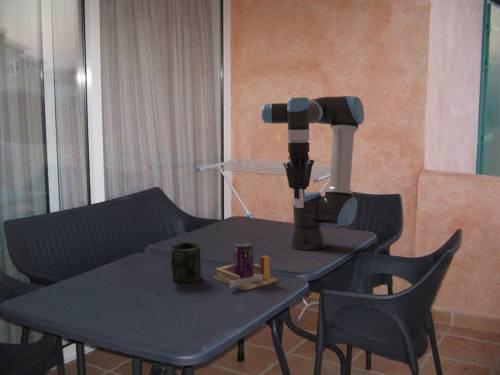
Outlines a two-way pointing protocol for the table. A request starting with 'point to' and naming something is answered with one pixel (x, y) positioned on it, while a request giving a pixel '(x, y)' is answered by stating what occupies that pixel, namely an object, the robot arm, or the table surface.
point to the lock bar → (263, 276)
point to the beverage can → (243, 259)
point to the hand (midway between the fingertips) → (299, 207)
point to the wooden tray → (228, 275)
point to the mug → (186, 262)
